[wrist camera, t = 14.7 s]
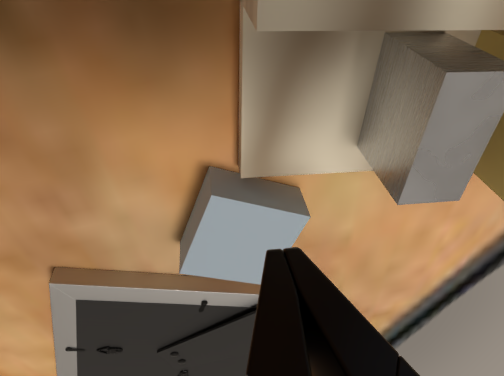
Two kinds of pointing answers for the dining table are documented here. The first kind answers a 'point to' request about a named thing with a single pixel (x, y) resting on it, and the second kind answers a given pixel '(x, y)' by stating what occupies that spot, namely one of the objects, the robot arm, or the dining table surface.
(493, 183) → the olive yellow block
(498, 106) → the bookend
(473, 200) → the dining table surface
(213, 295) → the picture frame
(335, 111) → the shelf tray
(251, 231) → the blue book lying
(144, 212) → the dining table surface
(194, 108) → the dining table surface
